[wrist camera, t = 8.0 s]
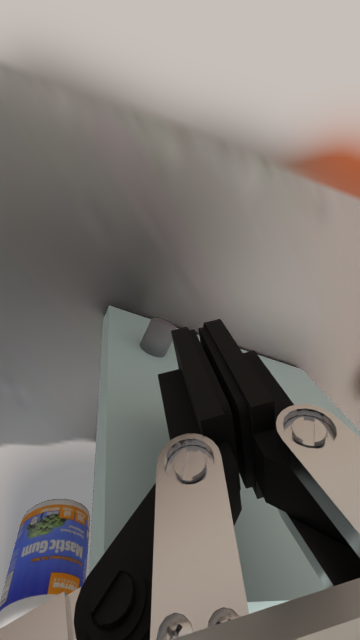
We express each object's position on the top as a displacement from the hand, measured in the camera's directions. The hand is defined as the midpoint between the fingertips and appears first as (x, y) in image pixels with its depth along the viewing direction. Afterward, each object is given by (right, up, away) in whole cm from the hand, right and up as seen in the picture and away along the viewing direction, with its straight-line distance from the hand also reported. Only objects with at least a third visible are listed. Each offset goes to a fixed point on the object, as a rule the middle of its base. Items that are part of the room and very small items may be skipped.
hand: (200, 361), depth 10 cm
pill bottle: (-11, -15, +15) cm, 24 cm away
